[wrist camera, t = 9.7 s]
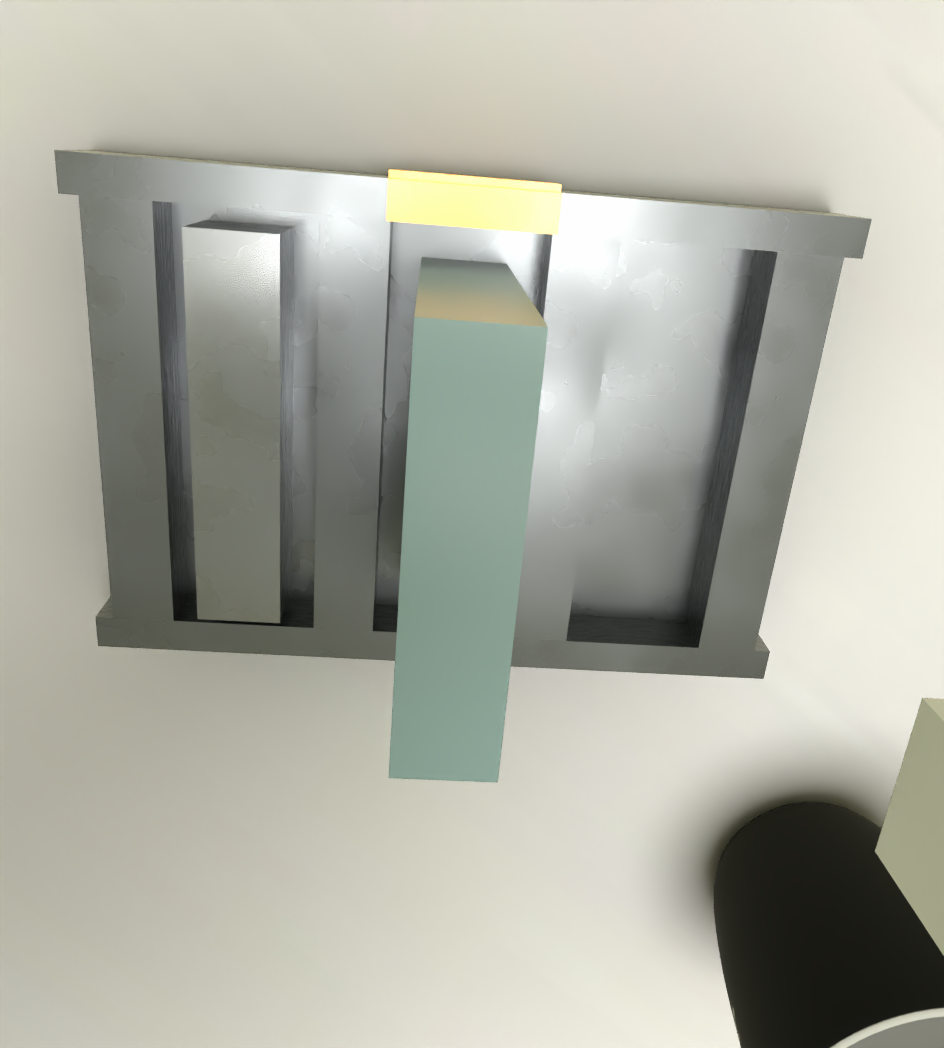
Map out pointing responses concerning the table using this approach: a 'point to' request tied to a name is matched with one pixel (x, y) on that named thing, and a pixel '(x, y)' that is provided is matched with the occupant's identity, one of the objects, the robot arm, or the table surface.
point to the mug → (823, 937)
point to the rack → (384, 393)
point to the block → (463, 516)
